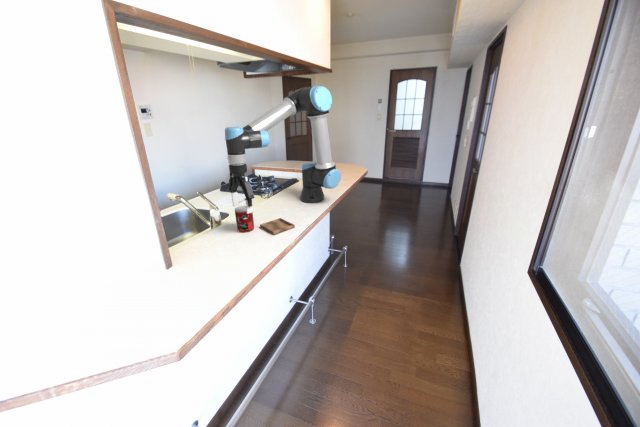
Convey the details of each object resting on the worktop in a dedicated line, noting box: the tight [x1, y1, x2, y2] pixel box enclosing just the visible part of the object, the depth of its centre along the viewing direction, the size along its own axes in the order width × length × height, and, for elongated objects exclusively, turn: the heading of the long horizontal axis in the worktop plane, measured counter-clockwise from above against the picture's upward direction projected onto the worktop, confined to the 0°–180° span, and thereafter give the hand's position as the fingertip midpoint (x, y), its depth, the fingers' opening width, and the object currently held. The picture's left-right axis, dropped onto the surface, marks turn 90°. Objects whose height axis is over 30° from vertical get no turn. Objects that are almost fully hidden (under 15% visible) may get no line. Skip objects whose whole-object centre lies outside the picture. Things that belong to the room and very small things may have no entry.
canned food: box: [234, 205, 255, 234], centre depth 129 cm, size 8×8×11 cm
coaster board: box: [259, 218, 295, 236], centre depth 132 cm, size 12×12×2 cm
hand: (242, 209), depth 127 cm, fingers open, 13 cm apart
